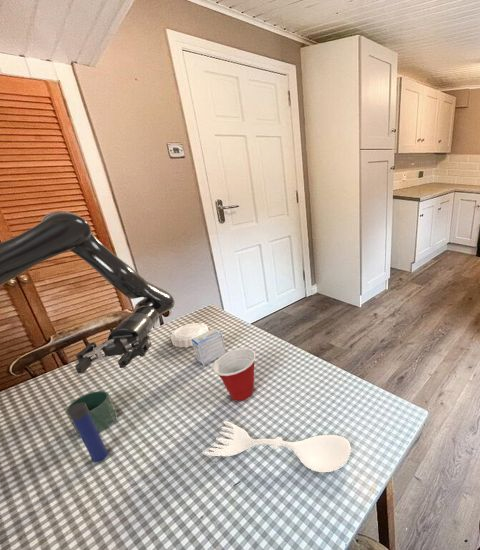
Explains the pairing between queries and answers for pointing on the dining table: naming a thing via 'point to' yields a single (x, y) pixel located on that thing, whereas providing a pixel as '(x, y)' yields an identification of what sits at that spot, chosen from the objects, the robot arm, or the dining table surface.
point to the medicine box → (208, 346)
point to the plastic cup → (237, 372)
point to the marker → (88, 431)
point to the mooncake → (187, 334)
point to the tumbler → (97, 409)
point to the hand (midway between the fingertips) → (100, 367)
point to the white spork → (312, 452)
